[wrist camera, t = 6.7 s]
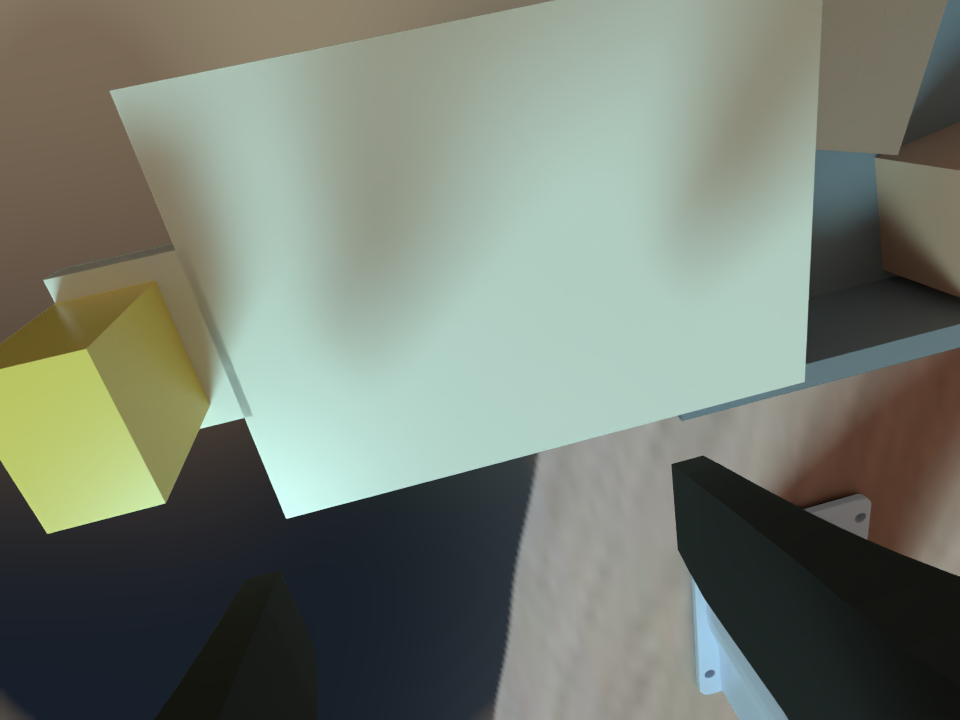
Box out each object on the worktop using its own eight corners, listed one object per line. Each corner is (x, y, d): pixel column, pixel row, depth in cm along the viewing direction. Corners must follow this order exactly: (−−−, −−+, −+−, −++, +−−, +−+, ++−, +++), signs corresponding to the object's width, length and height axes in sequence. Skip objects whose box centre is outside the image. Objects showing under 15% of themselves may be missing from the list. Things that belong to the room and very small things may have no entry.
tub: (1030, 254, 23) (1172, 291, 19) (622, 358, 22) (682, 420, 18) (1112, -143, 18) (1330, -207, 14) (584, -38, 17) (656, -75, 13)
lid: (786, 369, 17) (911, 454, 13) (189, 525, 16) (134, 670, 12) (799, -48, 13) (989, -103, 9) (-16, 118, 12) (-204, 138, 8)
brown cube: (809, 142, 19) (898, 154, 16) (690, 134, 19) (759, 145, 15) (849, -6, 18) (955, -25, 15) (721, -22, 17) (804, -45, 14)
